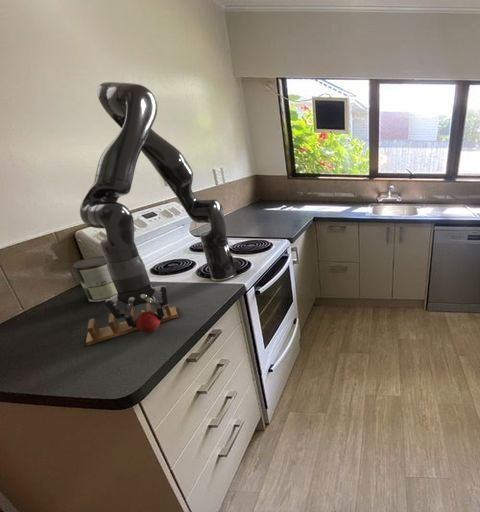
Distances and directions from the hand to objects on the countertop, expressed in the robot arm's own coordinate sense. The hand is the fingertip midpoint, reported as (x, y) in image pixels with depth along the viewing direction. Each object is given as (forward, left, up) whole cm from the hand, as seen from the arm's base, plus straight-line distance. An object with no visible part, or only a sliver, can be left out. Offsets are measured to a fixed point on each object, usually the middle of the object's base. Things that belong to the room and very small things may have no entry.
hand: (147, 322), depth 87 cm
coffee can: (+12, -39, -4) cm, 41 cm away
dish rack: (+4, -7, -4) cm, 9 cm away
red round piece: (0, 0, -4) cm, 4 cm away
